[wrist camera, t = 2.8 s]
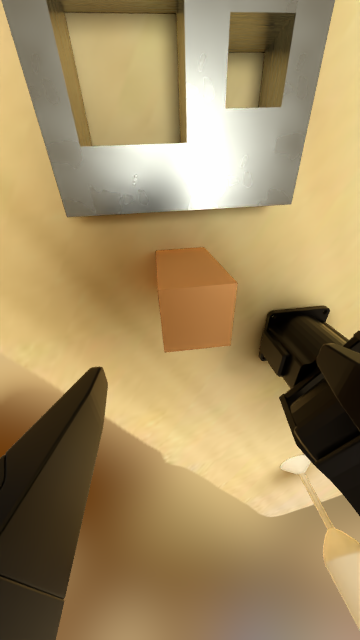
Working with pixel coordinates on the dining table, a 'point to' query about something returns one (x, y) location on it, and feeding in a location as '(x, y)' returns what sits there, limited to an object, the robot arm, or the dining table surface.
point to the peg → (194, 299)
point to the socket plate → (181, 106)
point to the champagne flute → (334, 545)
